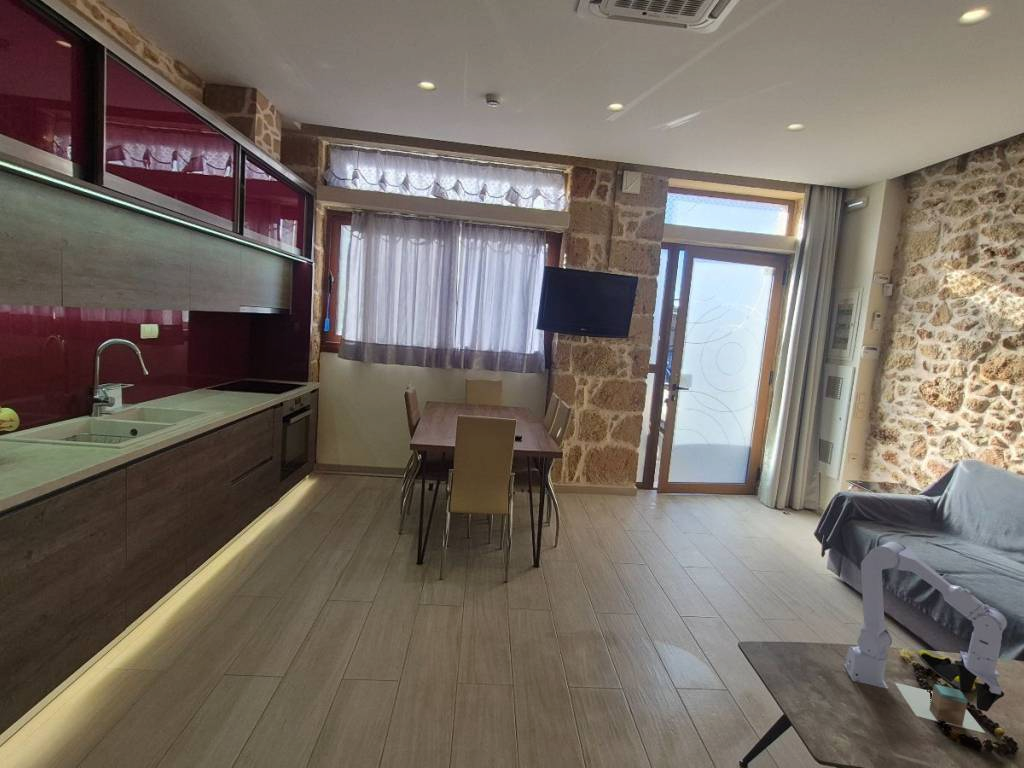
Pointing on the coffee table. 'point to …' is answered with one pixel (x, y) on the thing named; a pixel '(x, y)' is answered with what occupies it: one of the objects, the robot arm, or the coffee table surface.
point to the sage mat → (921, 706)
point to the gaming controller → (942, 667)
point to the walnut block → (948, 704)
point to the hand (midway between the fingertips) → (973, 699)
